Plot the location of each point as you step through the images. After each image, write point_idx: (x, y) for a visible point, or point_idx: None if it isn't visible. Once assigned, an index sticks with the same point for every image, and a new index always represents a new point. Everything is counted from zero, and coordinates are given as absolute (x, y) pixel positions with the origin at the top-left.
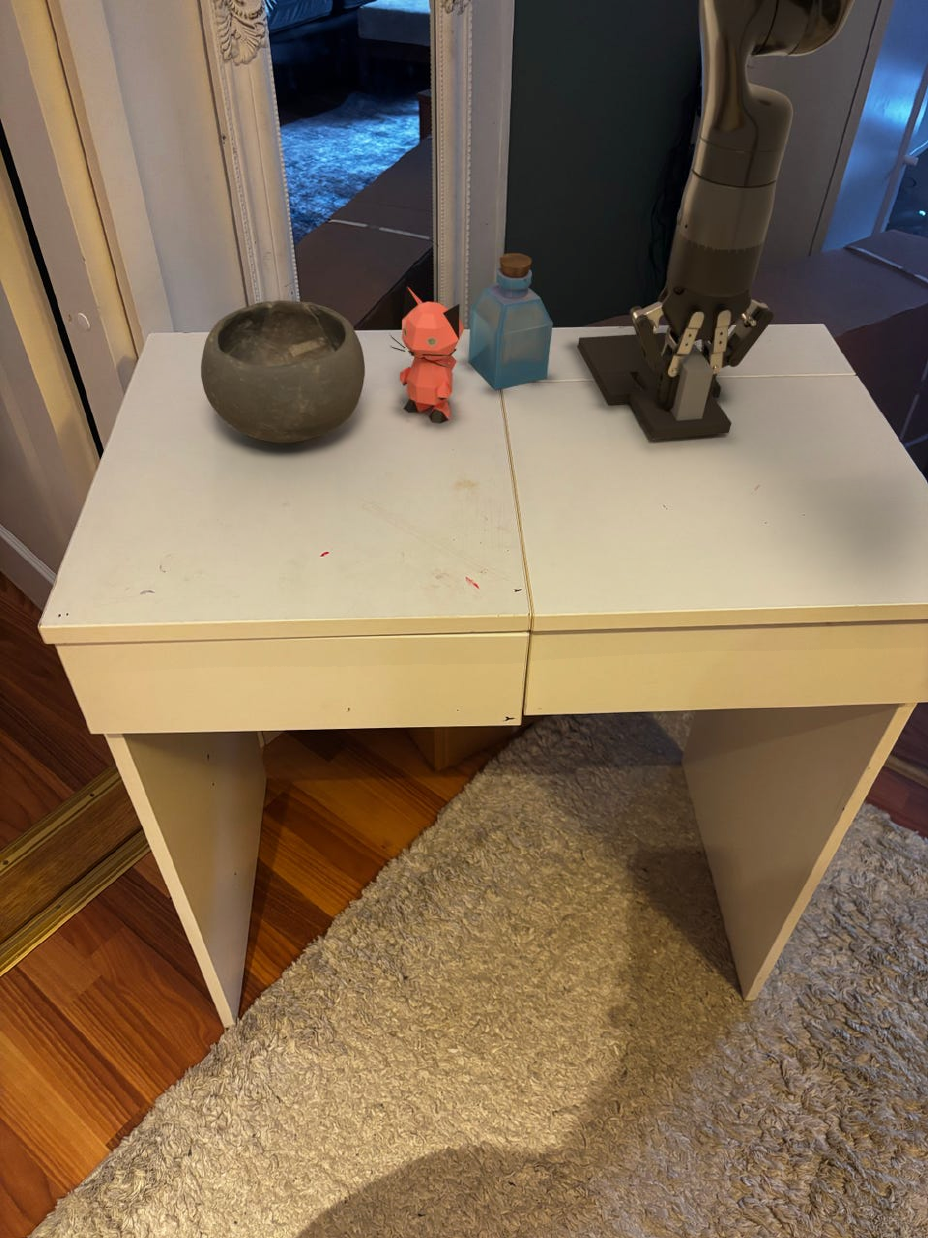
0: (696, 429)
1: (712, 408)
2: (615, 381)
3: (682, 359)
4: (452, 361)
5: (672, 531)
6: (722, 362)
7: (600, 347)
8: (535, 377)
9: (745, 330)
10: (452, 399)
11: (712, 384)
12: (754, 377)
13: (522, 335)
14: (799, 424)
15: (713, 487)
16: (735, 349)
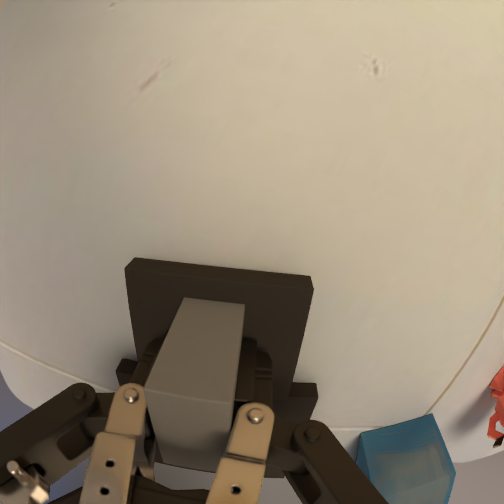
0: (205, 272)
1: (148, 322)
2: (288, 420)
3: (234, 443)
4: (492, 433)
5: (386, 7)
6: (110, 404)
7: (266, 466)
8: (379, 432)
9: (40, 457)
10: (476, 397)
11: (142, 364)
12: (68, 373)
13: (420, 479)
14: (26, 260)
15: (240, 95)
16: (71, 423)
